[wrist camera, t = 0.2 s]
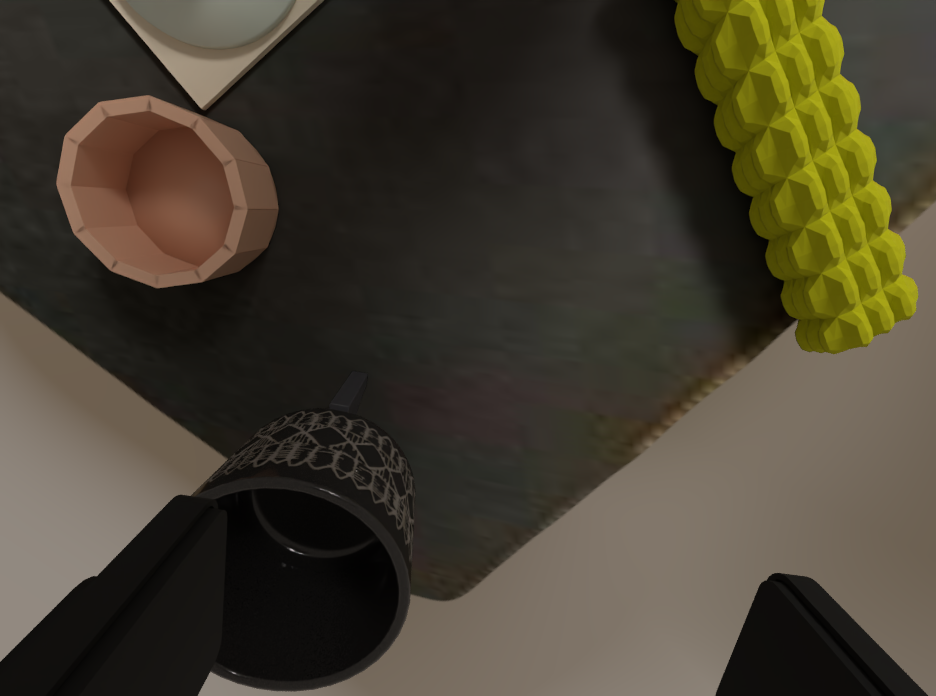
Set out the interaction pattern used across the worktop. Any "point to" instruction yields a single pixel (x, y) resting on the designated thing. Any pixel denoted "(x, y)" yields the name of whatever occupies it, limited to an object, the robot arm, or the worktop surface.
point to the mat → (210, 53)
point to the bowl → (165, 192)
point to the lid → (214, 20)
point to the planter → (314, 547)
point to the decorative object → (802, 164)
